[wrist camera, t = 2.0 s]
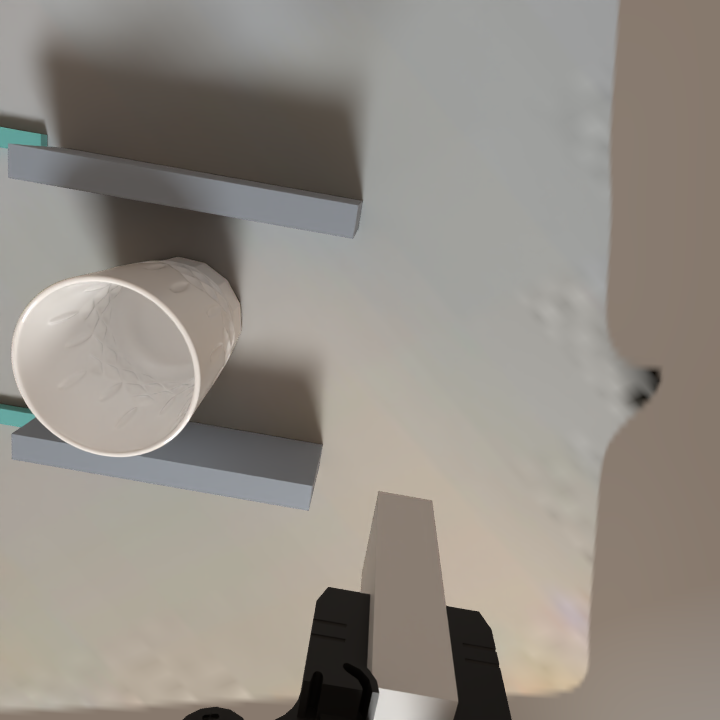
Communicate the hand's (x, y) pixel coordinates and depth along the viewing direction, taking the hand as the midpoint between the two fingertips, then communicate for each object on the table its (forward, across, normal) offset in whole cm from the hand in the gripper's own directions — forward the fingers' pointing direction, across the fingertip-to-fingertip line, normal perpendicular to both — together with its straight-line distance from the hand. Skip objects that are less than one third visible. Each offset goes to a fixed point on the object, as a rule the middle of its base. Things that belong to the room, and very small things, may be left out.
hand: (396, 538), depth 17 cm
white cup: (+18, -12, 0) cm, 22 cm away
